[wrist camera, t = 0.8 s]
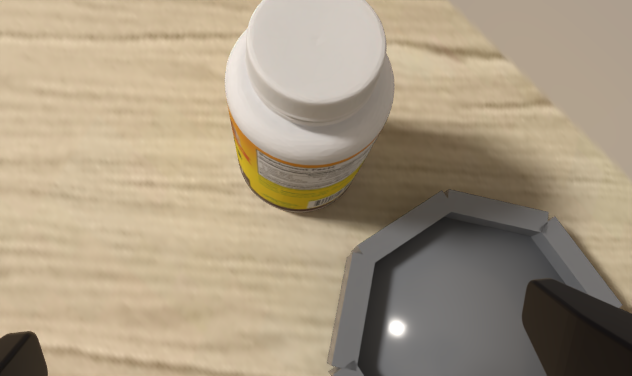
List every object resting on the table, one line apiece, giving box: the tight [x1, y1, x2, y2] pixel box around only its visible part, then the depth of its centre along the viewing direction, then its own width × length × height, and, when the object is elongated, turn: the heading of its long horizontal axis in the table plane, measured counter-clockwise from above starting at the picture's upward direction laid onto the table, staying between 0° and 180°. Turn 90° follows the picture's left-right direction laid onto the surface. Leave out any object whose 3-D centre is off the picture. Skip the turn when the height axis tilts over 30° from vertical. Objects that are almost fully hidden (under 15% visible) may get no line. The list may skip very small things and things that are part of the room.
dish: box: [327, 189, 622, 376], centre depth 21 cm, size 12×12×2 cm
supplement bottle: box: [225, 0, 394, 212], centre depth 19 cm, size 6×6×10 cm
